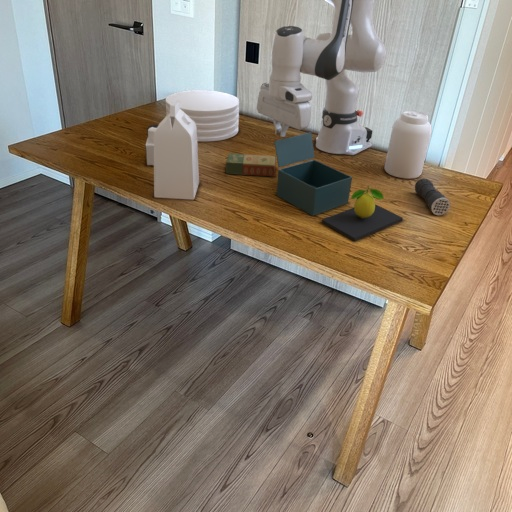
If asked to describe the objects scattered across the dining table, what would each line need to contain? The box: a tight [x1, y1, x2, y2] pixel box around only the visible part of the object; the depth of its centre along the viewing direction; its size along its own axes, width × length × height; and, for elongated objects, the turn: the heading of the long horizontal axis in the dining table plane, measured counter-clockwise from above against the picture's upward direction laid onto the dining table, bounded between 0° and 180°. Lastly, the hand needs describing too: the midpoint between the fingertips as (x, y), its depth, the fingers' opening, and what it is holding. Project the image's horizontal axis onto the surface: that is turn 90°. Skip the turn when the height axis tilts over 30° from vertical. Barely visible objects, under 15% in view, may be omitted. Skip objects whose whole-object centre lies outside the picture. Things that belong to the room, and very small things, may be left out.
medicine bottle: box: [144, 124, 159, 166], centre depth 163 cm, size 7×7×12 cm
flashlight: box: [414, 178, 452, 216], centre depth 149 cm, size 15×5×5 cm, turn 5°
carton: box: [225, 152, 277, 177], centre depth 163 cm, size 8×16×4 cm, turn 86°
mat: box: [321, 203, 403, 242], centre depth 138 cm, size 20×12×1 cm, turn 129°
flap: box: [273, 131, 315, 168], centre depth 147 cm, size 8×14×1 cm
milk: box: [153, 99, 200, 201], centre depth 142 cm, size 12×12×26 cm
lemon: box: [350, 185, 385, 218], centre depth 135 cm, size 7×6×10 cm
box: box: [276, 159, 353, 217], centre depth 146 cm, size 16×15×8 cm
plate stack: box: [165, 89, 240, 142], centre depth 193 cm, size 28×28×12 cm
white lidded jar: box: [383, 110, 433, 180], centre depth 164 cm, size 12×12×20 cm
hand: (280, 135), depth 151 cm, fingers closed
